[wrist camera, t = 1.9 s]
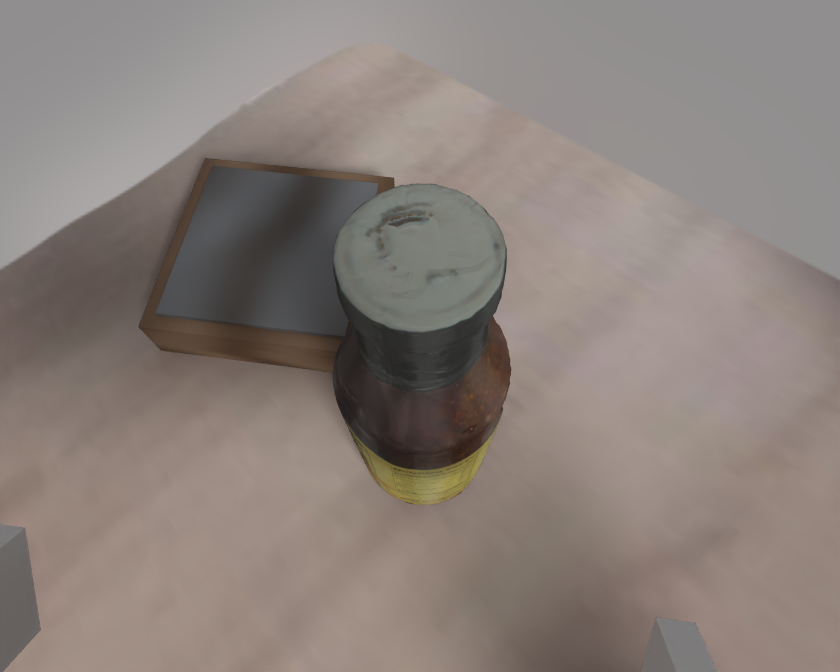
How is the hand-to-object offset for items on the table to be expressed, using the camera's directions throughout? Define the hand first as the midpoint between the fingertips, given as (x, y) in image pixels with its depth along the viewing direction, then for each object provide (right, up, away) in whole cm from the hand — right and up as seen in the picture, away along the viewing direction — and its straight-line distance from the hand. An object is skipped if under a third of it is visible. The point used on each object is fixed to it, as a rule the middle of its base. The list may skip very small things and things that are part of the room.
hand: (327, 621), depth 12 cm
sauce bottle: (+2, 0, +19) cm, 19 cm away
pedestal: (-6, +10, +24) cm, 27 cm away
